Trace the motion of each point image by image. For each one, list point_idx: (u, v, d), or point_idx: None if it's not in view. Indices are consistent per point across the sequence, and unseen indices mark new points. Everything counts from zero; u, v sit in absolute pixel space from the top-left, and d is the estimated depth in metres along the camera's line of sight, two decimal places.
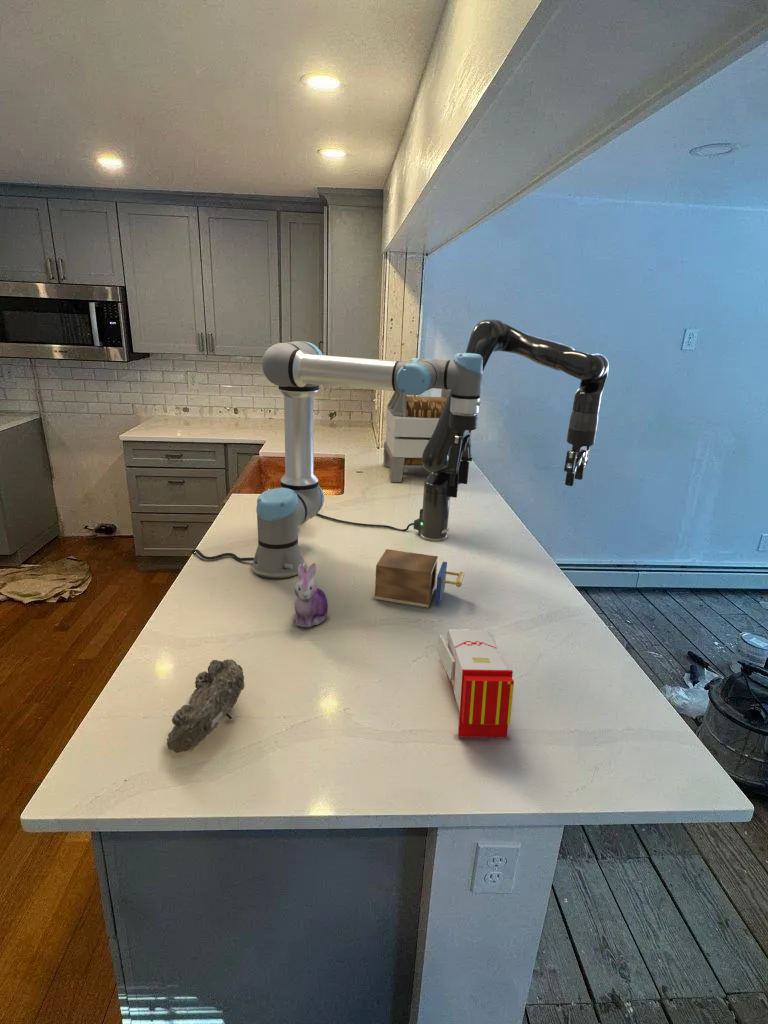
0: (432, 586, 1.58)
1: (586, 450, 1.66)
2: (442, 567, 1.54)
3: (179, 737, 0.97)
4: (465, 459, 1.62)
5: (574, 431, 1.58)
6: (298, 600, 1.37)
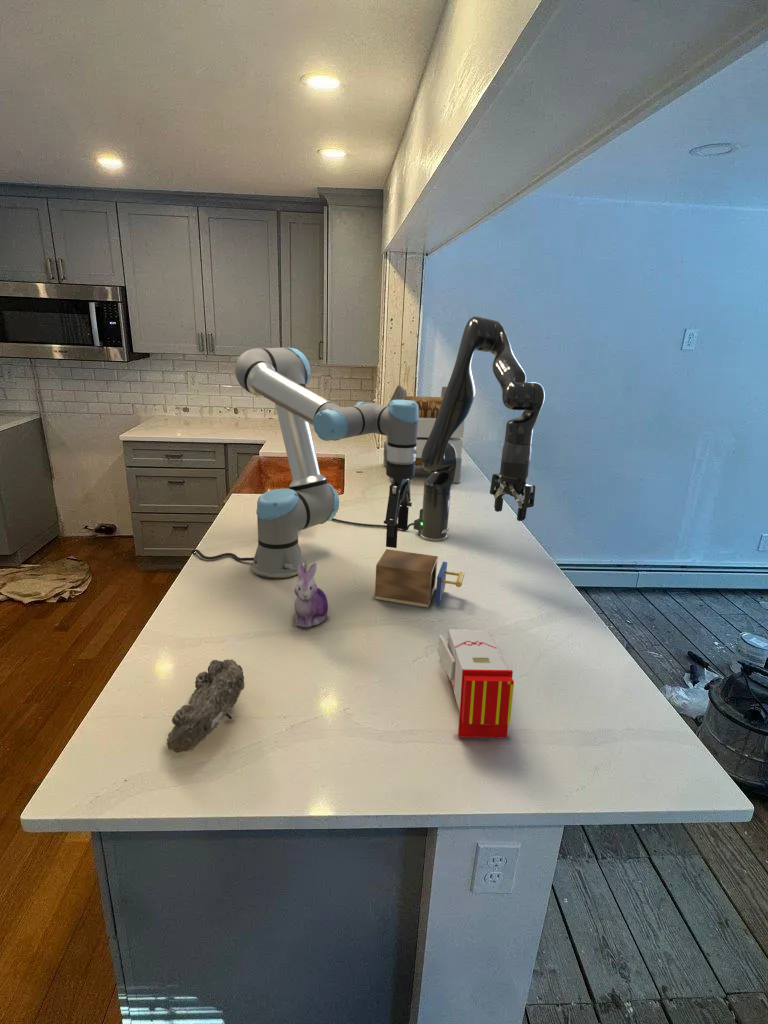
0: (432, 586, 1.58)
1: None
2: (442, 567, 1.54)
3: (179, 737, 0.97)
4: (404, 504, 1.57)
5: None
6: (298, 600, 1.37)
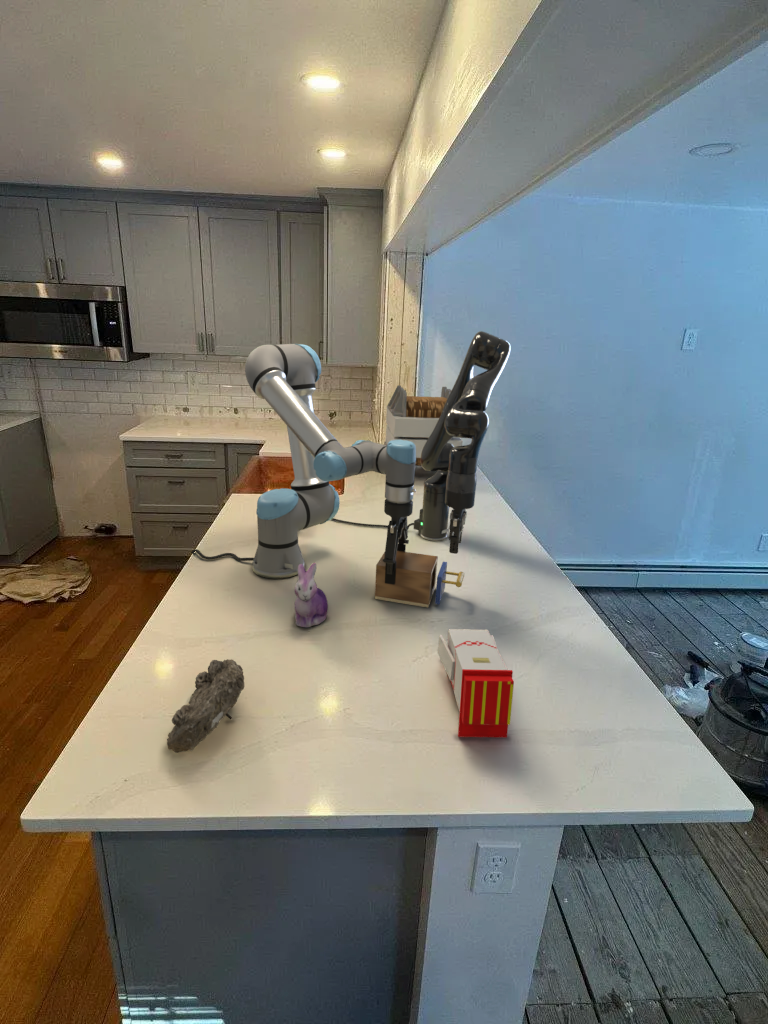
0: (432, 586, 1.58)
1: None
2: (442, 567, 1.54)
3: (179, 737, 0.97)
4: (402, 542, 1.60)
5: None
6: (298, 600, 1.37)
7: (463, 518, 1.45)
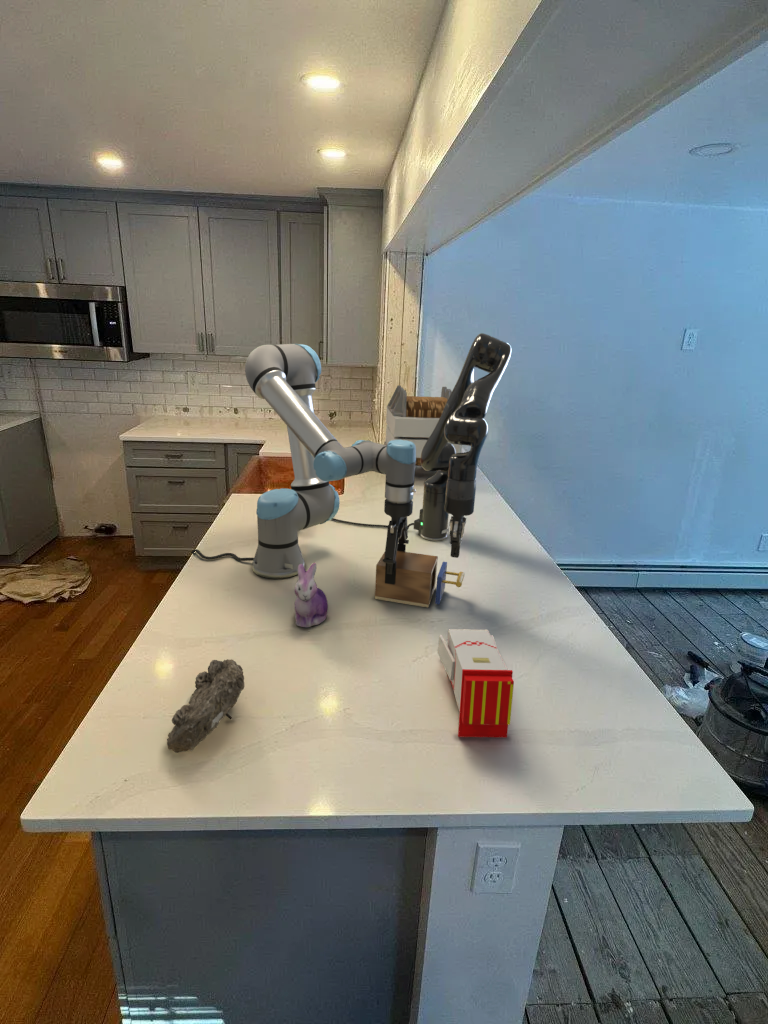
0: (432, 586, 1.58)
1: None
2: (442, 567, 1.54)
3: (179, 737, 0.97)
4: (402, 542, 1.60)
5: None
6: (298, 600, 1.37)
7: (463, 526, 1.46)
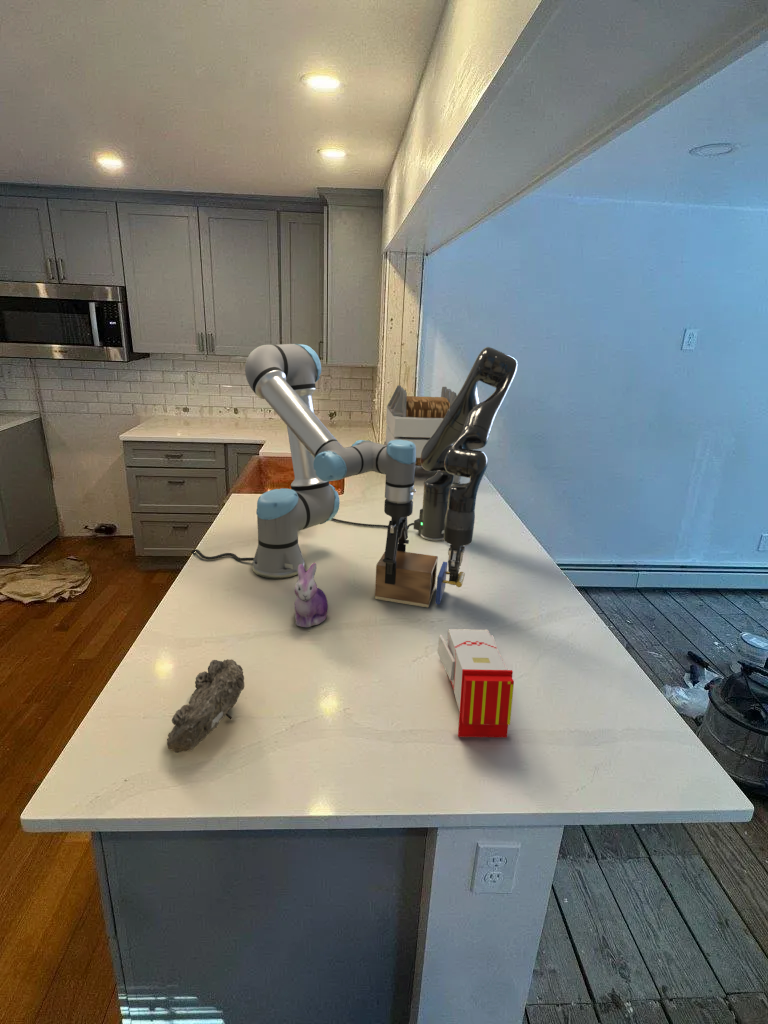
0: (432, 586, 1.58)
1: None
2: (442, 567, 1.54)
3: (179, 737, 0.97)
4: (402, 542, 1.60)
5: None
6: (298, 600, 1.37)
7: (461, 555, 1.48)
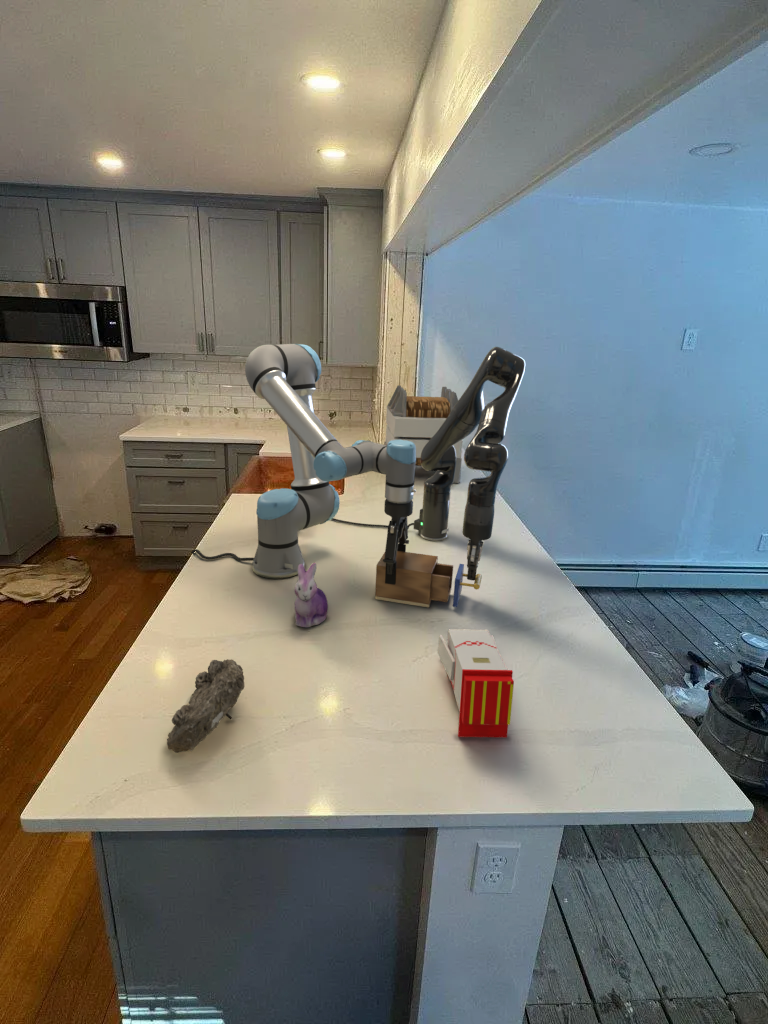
0: (449, 588, 1.57)
1: None
2: (459, 569, 1.53)
3: (179, 737, 0.97)
4: (402, 542, 1.60)
5: None
6: (298, 600, 1.37)
7: (480, 550, 1.47)
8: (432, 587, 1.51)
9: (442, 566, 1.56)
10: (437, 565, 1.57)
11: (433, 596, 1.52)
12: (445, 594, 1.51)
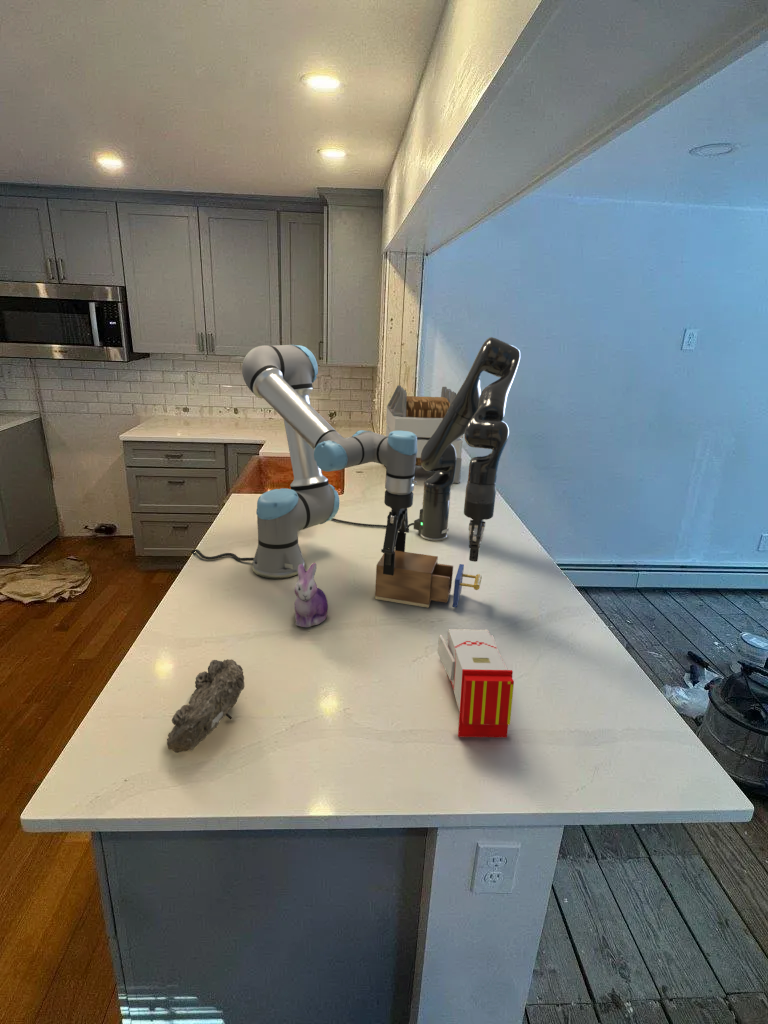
0: (449, 589, 1.57)
1: None
2: (459, 570, 1.53)
3: (179, 737, 0.97)
4: (402, 530, 1.60)
5: None
6: (298, 600, 1.37)
7: (482, 530, 1.45)
8: (432, 587, 1.51)
9: (442, 566, 1.56)
10: (437, 565, 1.57)
11: (433, 596, 1.52)
12: (444, 594, 1.51)
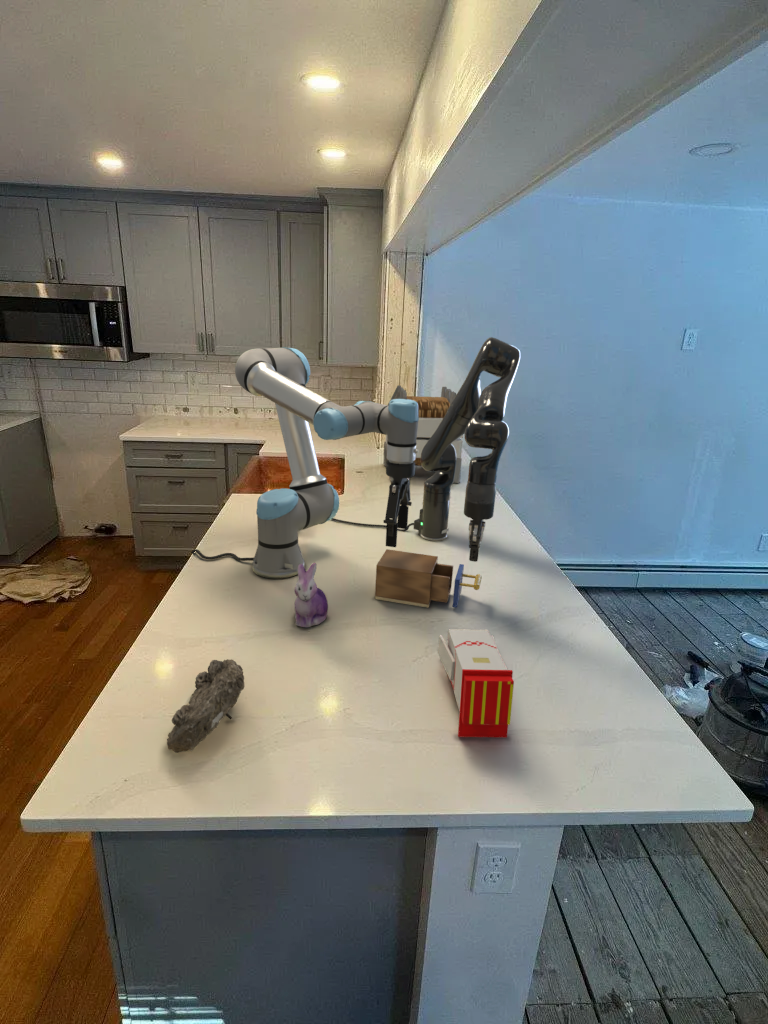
0: (449, 589, 1.57)
1: None
2: (459, 570, 1.53)
3: (179, 737, 0.97)
4: (404, 504, 1.57)
5: None
6: (298, 600, 1.37)
7: (482, 530, 1.45)
8: (432, 587, 1.51)
9: (442, 566, 1.56)
10: (437, 565, 1.57)
11: (433, 596, 1.52)
12: (444, 594, 1.51)
